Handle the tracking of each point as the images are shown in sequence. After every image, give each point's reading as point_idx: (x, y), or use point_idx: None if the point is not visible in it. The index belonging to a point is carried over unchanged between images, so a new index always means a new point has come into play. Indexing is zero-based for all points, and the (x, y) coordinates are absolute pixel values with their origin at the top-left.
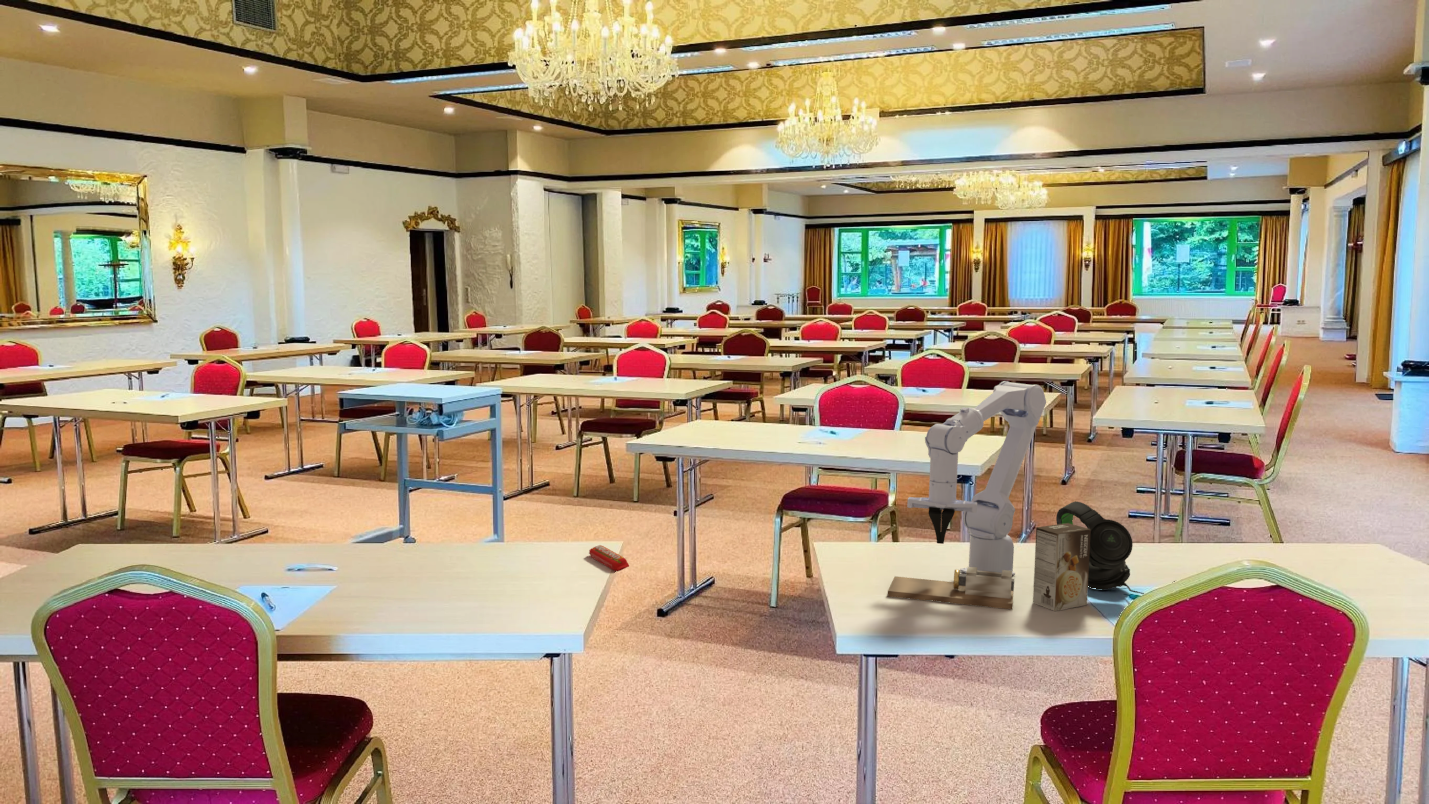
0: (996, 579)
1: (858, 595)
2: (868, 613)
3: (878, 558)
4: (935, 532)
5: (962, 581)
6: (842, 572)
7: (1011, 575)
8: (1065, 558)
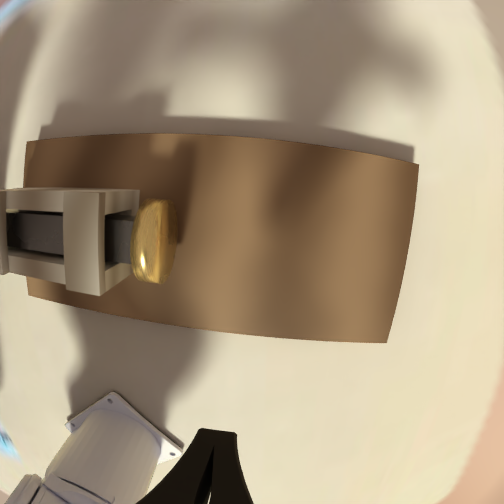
0: (19, 190)
1: (479, 165)
2: (431, 16)
3: (378, 480)
4: (243, 478)
5: (134, 218)
6: (486, 364)
7: None
8: None
